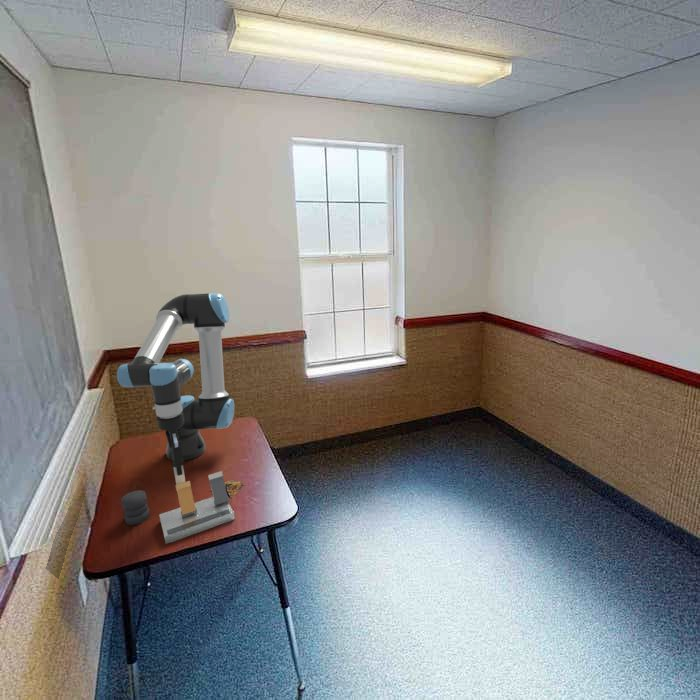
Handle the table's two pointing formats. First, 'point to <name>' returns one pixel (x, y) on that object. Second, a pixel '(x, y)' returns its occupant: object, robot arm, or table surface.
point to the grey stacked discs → (135, 507)
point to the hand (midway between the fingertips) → (180, 482)
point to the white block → (218, 488)
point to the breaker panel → (194, 519)
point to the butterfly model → (233, 487)
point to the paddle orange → (185, 498)
